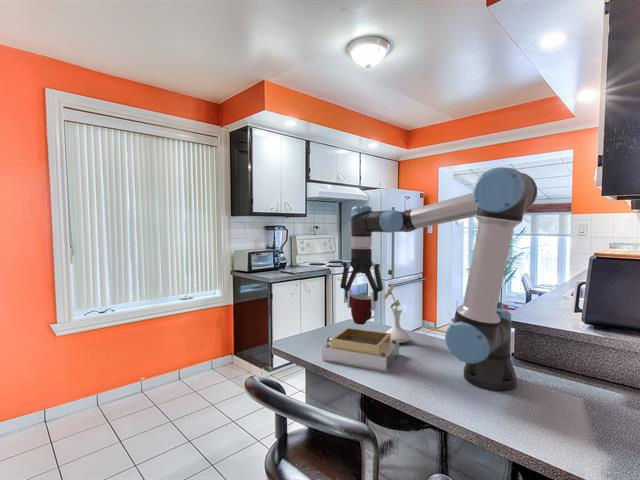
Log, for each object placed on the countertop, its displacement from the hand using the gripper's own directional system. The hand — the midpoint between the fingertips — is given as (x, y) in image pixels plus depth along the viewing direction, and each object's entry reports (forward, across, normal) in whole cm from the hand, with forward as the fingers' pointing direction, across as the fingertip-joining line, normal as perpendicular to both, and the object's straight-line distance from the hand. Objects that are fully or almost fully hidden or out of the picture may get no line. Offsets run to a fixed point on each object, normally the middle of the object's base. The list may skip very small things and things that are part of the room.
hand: (361, 308), depth 127 cm
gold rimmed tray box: (+18, +2, 0) cm, 19 cm away
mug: (+6, 0, 0) cm, 6 cm away
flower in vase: (+19, -7, -24) cm, 31 cm away
